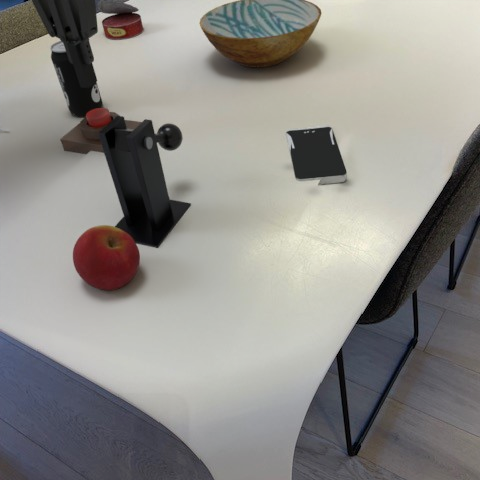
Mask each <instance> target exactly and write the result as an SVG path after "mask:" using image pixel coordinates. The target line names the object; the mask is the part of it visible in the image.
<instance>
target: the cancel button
mask: <svg viewBox="0 0 480 480" xmlns="http://www.w3.org/2000/svg"><path fill="white" fill-rule="evenodd" d="M110 112H111V111H110V110H109V109H108V108H106V107H101V108H96V109H93V110H91V111H89V112H88V113H87V114H86V118H87V121H88V124H89V126H90V127H95V128H96V127H103V126H105V125H107V124H108V123H110V122H111V121H112V119H111V115H110Z"/></svg>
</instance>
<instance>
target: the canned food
mask: <svg viewBox="0 0 480 480" xmlns="http://www.w3.org/2000/svg"><path fill="white" fill-rule="evenodd" d="M96 6H97V7H96V10H97V11H98V12H99V13H102V14H107V15H109V16H107V17H105V18H104V19H102V21H101V25H102V29H103V33H104V36H105V38H107V39H109V40H114V41H115V40H117V41H118V40H119V41H120V40H126V39H131V38H134V37H137V36H139V35H141V34H142V33H143V32H144V26H143V22H142V16H141V15H140V14H139V13H136V12H139V10H140V9H139V8H138V7H136V6H133V5H131V4H128V3H126V2H123V1H118V0H99V1H98V2H97V5H96Z"/></svg>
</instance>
